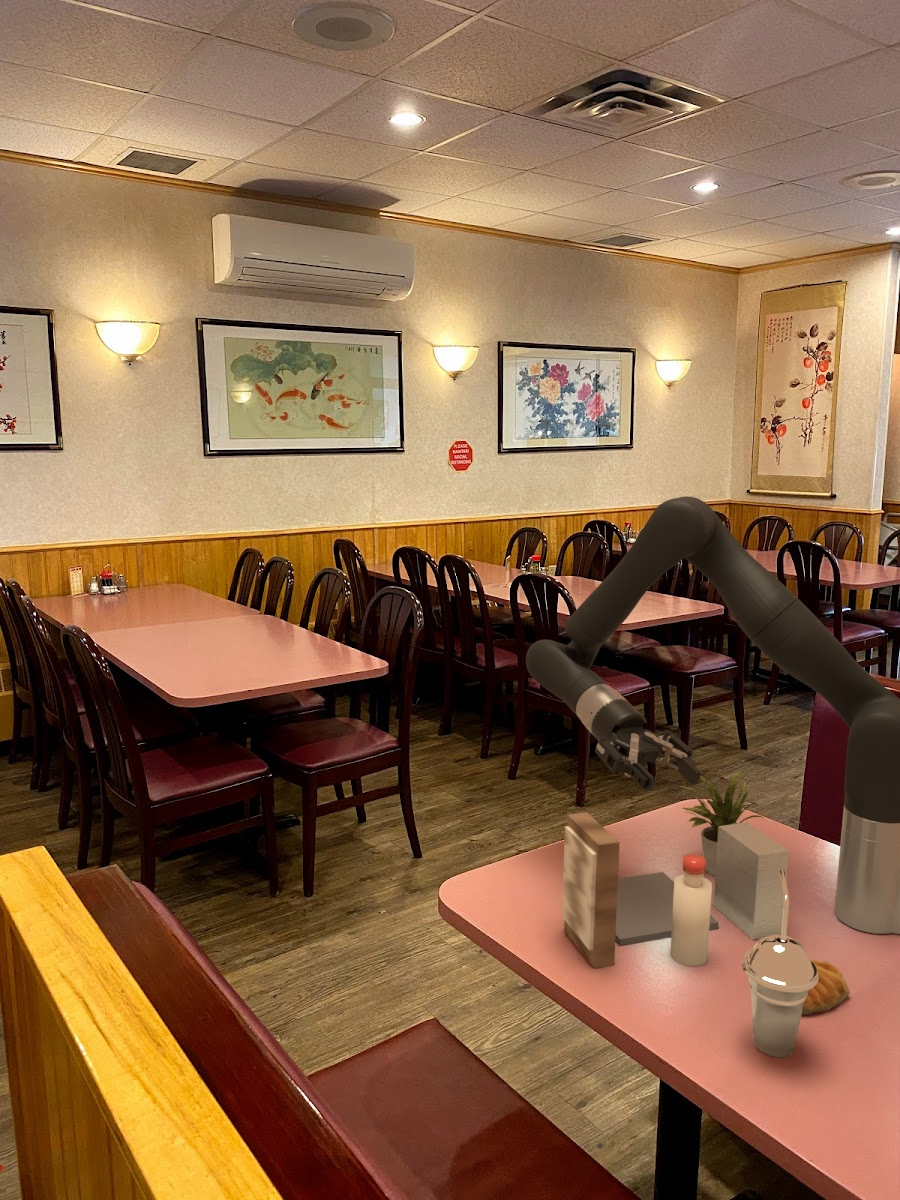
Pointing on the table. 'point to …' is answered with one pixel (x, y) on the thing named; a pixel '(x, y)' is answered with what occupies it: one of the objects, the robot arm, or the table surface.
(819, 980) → the pastry
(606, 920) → the stand
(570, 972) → the table surface
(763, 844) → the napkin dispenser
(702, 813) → the house plant
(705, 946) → the sauce bottle
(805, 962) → the cup with straw
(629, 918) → the slate tray
